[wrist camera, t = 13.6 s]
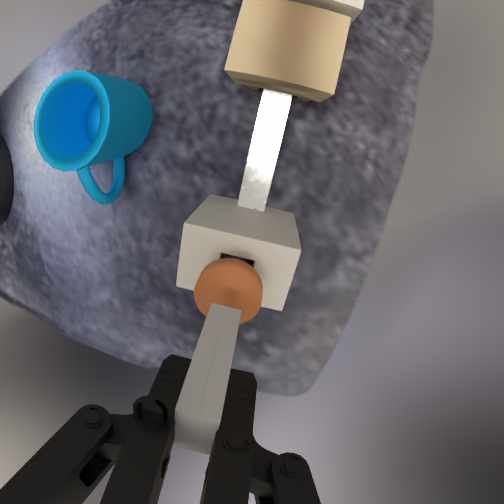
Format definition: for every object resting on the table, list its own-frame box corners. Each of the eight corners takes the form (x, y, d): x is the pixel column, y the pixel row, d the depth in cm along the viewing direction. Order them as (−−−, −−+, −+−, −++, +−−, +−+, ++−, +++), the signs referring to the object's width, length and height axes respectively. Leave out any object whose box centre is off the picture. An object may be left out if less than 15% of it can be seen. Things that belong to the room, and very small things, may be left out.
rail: (239, 200, 28) (237, 205, 26) (280, 28, 21) (280, 21, 19) (264, 205, 28) (263, 211, 26) (306, 34, 21) (308, 28, 19)
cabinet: (199, 240, 30) (172, 285, 22) (207, 193, 28) (179, 221, 20) (280, 259, 30) (281, 311, 22) (293, 212, 28) (301, 250, 20)
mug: (80, 94, 24) (29, 92, 17) (147, 70, 23) (104, 54, 16) (98, 199, 29) (52, 223, 21) (165, 186, 28) (128, 209, 20)
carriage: (238, 86, 23) (224, 69, 16) (253, 28, 21) (245, -7, 14) (316, 104, 24) (333, 94, 16) (330, 46, 21) (351, 17, 14)
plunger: (206, 277, 23) (190, 316, 18) (215, 229, 21) (198, 259, 16) (258, 289, 23) (253, 331, 18) (270, 241, 21) (269, 276, 17)
